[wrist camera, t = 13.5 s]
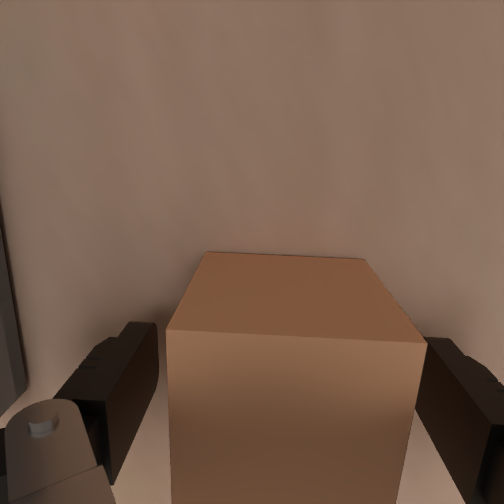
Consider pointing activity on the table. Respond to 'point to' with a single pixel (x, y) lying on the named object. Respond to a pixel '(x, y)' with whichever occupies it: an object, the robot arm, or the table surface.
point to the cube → (289, 383)
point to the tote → (9, 344)
